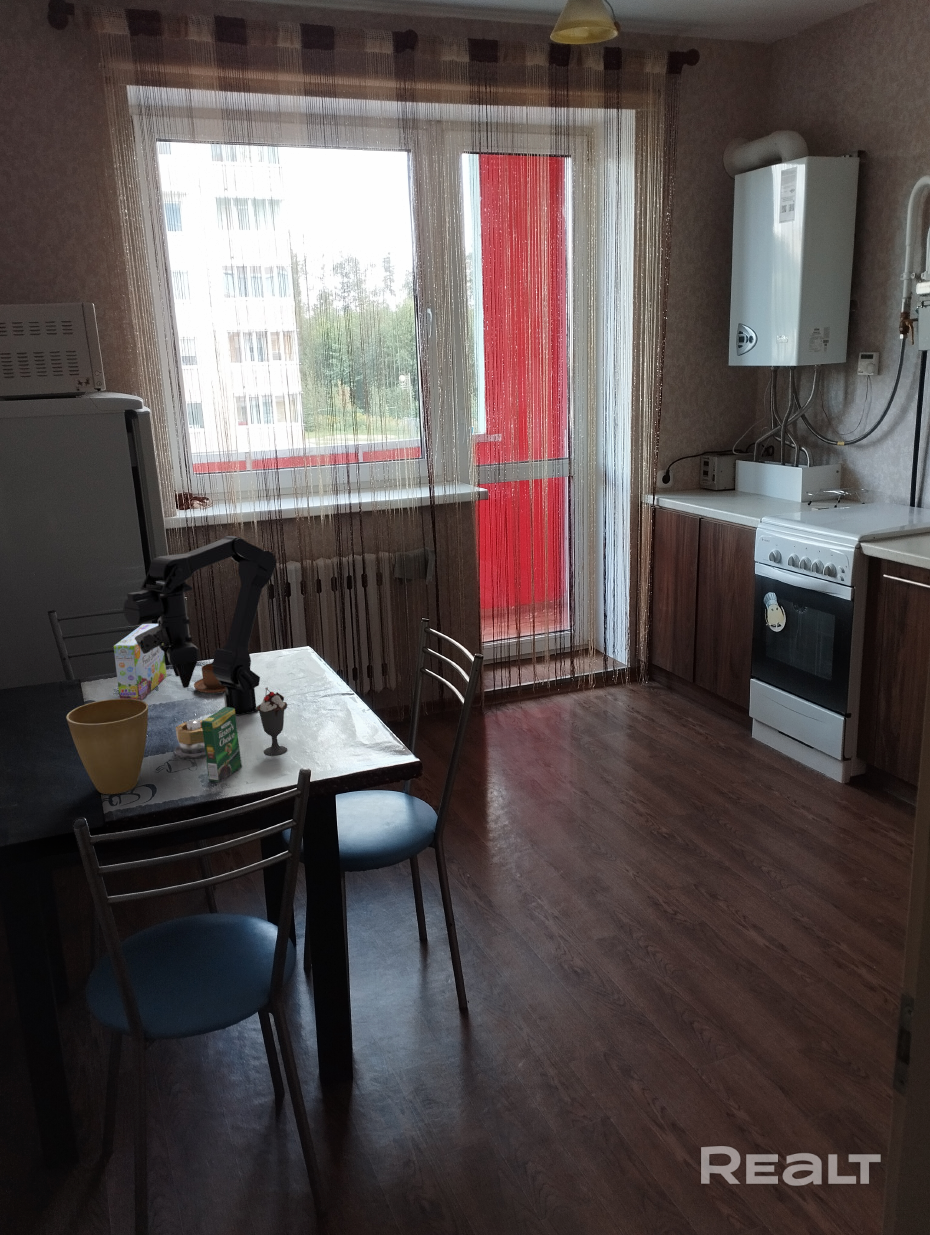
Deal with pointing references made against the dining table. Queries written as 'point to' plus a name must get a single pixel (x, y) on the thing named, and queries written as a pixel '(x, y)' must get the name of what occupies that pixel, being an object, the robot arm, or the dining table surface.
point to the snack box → (138, 666)
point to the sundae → (273, 720)
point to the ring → (189, 734)
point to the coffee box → (221, 744)
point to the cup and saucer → (209, 681)
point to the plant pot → (111, 741)
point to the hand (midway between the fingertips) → (181, 681)
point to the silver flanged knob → (191, 749)
